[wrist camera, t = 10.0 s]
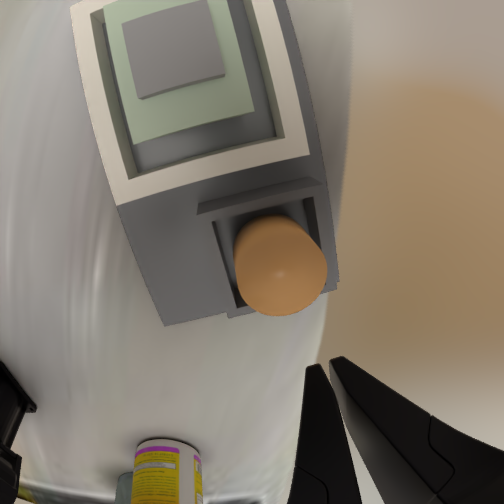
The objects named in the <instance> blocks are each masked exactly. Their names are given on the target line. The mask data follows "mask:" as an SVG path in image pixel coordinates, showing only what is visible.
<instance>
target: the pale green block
mask: <svg viewBox="0 0 504 504" xmlns="http://www.w3.org/2000/svg"><path fill="white" fill-rule="evenodd" d="M103 11H104V17H105V23H106V28H107V34H108V39H109V44H110V49H111V54H112V59H113V63H114V68H115V73H116V77H117V82H118V86H119V90H120V94H121V99H122V103H123V107H124V111H125V115H126V118H127V122H128V126H129V130H130V134H131V137H132V141H133V145H134V144H138V143H141V142H145V141H149V140H153V139H156V138H160V137H163V136H166V135H169V134H173V133H176V132H180V131H183V130H186V129H190V128H194V127H197V126H201V125H205V124H209V123H213V122H216V121H220V120H225V119H229V118H233V117H237V116H242V115H245V114H248V113H251V112H254V111H255V110H254V106H253V102H252V98H251V94H250V89H249V85H248V81H247V77H246V73H245V69H244V65H243V61H242V57H241V53H240V49H239V45H238V41H237V38H236V34H235V30H234V26H233V22H232V19H231V15H230V11H229V7H228V4H227V0H118V1H115V2H112V3H110V4H107V5H105V6H103Z"/></svg>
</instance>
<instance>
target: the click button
mask: <svg viewBox="0 0 504 504" xmlns="http://www.w3.org/2000/svg"><path fill="white" fill-rule="evenodd" d="M233 260H234V266H235V272H236V278H237V284H238V289H239V292H240V294H241V296H242V298H243V300H244V301H245V302H246V303H247V304H248V305H249V306H250V307H251V308H252V309H254V310H256V311H257V312H259V313H262V314H265V315H270V316H285V315H290V314H293V313H296V312H298V311H301V310H302V309H304V308H306V307H307V306H309V305H310V304H311V303H312V302H313V301H314V300H315V299H316V298H317V297H318V296H319V294H320V293H321V291H322V289H323V287H324V285H325V282H326V278H327V263H326V259H325V256H324V254H323V253H322V251H321V250H320V248H319V247H318V246H317V245H316V243H315V242H314V241H313V240H312V239H311V237H310V236H309V235H308V234H307V232H306V231H305V230H304V229H303V228H302V227H301V225H300V224H299V223H298V222H296V221H295V220H294V219H292V218H290V217H288V216H285V215H282V214H265V215H261V216H258V217H256V218H254V219H252V220H250V221H249V222H248V223H246V224H245V225H244V226H243V227H242V228H241V230H240V231H239V232H238V234H237V236H236V238H235V241H234V244H233Z"/></svg>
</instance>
